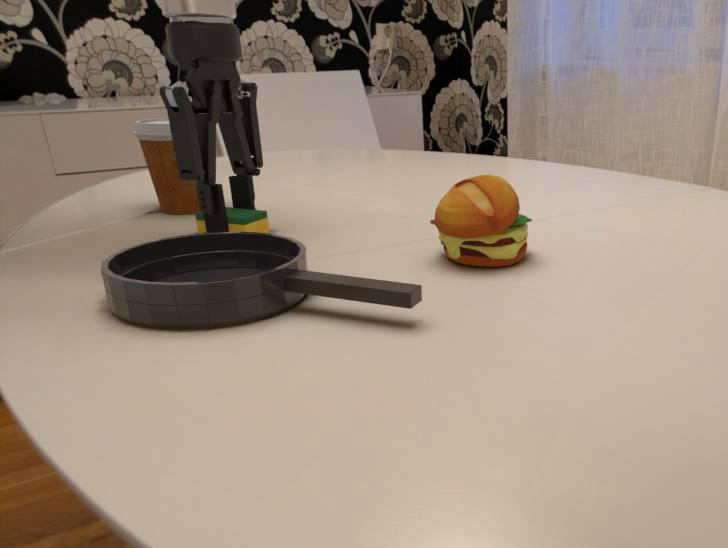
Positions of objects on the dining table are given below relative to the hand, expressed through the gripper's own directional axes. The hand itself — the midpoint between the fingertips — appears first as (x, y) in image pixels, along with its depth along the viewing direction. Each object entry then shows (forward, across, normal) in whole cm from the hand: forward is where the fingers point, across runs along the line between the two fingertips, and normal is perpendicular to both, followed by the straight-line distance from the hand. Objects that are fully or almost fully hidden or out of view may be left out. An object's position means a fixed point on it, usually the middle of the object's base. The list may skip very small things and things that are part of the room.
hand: (233, 233), depth 82 cm
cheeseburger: (+1, +2, -32) cm, 32 cm away
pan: (0, -19, -13) cm, 23 cm away
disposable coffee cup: (0, +10, +16) cm, 19 cm away
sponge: (0, 0, 0) cm, 0 cm away
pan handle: (-2, -19, -28) cm, 34 cm away
